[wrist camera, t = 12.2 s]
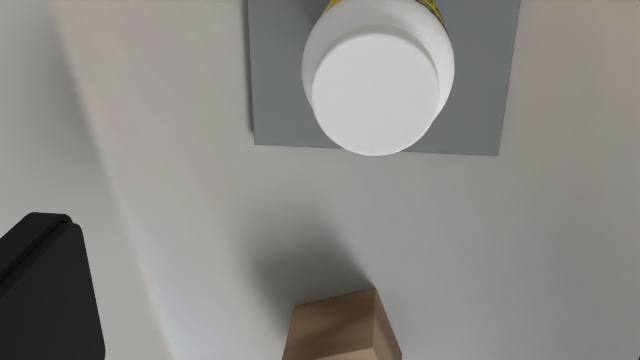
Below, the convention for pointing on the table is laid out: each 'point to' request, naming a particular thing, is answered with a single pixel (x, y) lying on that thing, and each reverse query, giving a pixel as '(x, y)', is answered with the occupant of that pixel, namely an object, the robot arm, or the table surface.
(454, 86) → the slate coaster
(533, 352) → the table surface
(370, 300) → the walnut block
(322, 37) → the supplement bottle
